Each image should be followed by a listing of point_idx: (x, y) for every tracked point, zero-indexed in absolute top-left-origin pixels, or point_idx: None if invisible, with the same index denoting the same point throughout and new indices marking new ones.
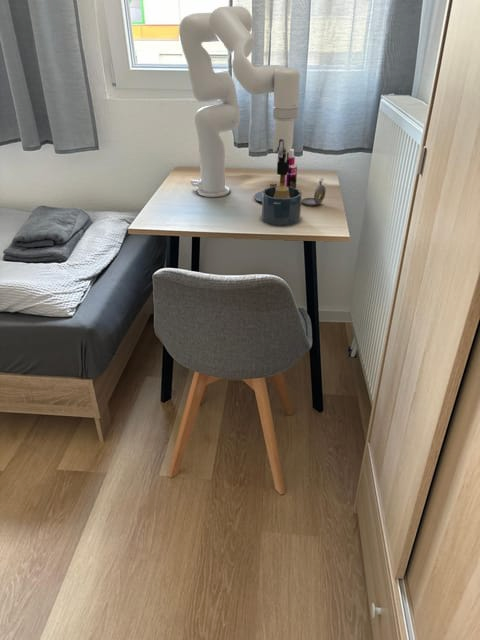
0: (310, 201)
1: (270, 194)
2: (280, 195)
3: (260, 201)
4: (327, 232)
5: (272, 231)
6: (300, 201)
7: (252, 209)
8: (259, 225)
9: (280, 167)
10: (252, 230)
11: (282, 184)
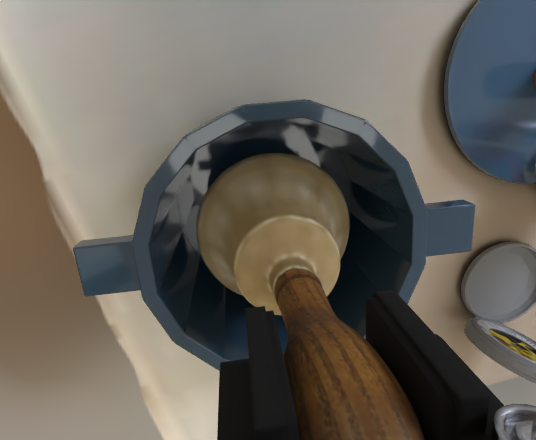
0: (516, 274)
1: (347, 137)
2: (228, 259)
3: (463, 24)
4: (191, 415)
5: (99, 209)
6: None
7: (357, 6)
8: (144, 122)
9: (219, 422)
10: (62, 106)
11: (274, 293)
